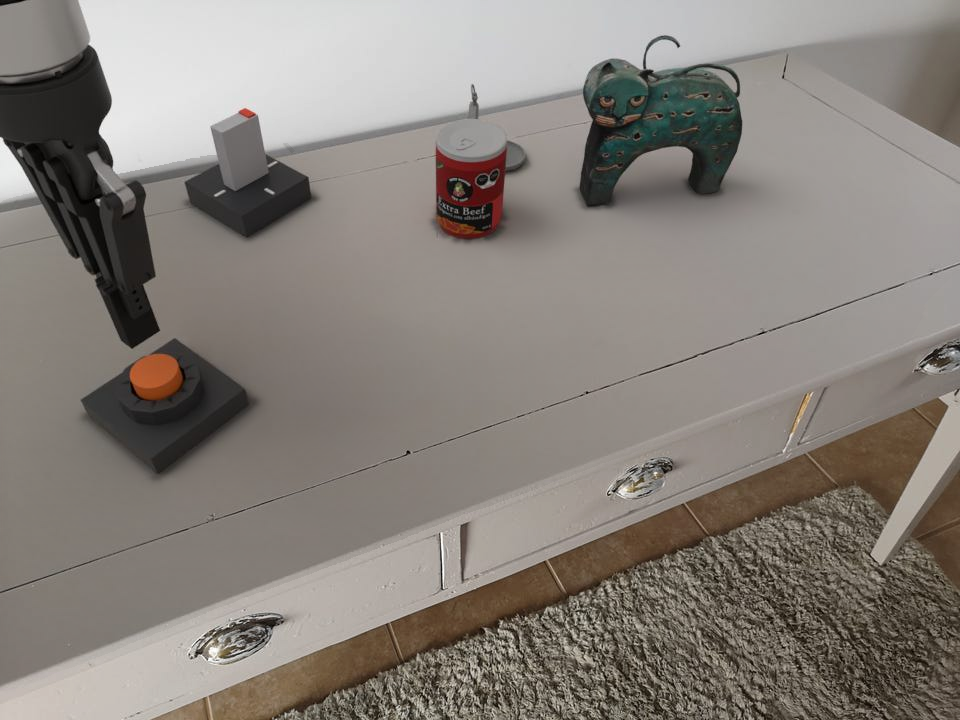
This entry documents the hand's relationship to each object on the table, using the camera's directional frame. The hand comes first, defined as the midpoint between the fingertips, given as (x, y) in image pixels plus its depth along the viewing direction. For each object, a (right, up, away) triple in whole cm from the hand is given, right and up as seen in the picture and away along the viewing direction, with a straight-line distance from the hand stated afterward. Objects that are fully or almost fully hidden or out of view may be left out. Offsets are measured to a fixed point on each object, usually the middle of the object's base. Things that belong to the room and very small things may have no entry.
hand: (140, 335), depth 63 cm
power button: (0, -4, +5) cm, 6 cm away
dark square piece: (-1, -7, +7) cm, 10 cm away
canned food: (+26, +14, +28) cm, 41 cm away
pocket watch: (+29, +24, +37) cm, 53 cm away
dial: (+1, +19, +27) cm, 33 cm away
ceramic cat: (+48, +19, +34) cm, 62 cm away
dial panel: (0, +17, +29) cm, 34 cm away
